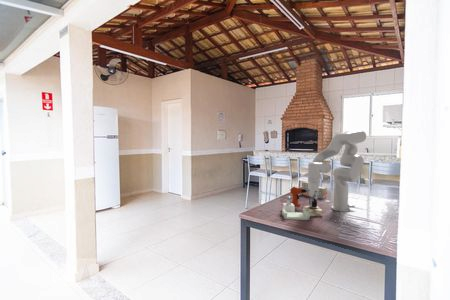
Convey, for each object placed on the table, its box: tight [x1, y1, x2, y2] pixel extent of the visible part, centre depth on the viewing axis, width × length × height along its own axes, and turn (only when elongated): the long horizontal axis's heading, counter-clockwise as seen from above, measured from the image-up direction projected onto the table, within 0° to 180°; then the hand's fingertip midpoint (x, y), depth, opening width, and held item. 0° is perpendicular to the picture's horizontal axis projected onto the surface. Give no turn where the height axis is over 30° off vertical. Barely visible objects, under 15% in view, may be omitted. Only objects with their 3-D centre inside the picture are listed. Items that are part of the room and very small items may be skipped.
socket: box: [303, 205, 324, 217], centre depth 160 cm, size 10×10×4 cm
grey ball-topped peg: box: [285, 195, 293, 205], centre depth 165 cm, size 4×4×10 cm
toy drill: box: [289, 186, 308, 207], centre depth 177 cm, size 5×19×15 cm, turn 42°
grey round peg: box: [309, 197, 316, 209], centre depth 160 cm, size 4×4×11 cm
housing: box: [282, 202, 296, 212], centre depth 165 cm, size 7×7×5 cm
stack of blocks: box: [301, 180, 328, 200], centre depth 210 cm, size 21×6×12 cm, turn 39°
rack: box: [281, 208, 311, 221], centre depth 153 cm, size 16×10×4 cm, turn 86°
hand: (313, 205), depth 160 cm, fingers open, 4 cm apart
